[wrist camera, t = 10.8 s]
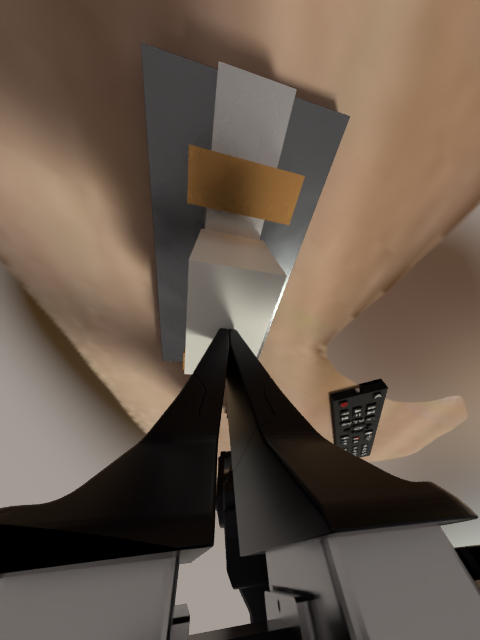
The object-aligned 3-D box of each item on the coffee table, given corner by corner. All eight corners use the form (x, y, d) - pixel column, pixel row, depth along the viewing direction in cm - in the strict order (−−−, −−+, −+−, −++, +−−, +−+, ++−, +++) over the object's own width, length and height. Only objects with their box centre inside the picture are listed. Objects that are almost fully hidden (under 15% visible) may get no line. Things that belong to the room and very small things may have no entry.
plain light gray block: (241, 324, 16) (248, 377, 12) (194, 318, 15) (184, 373, 11) (263, 241, 12) (286, 276, 8) (201, 228, 11) (188, 259, 7)
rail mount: (253, 360, 22) (259, 393, 19) (165, 353, 20) (153, 389, 17) (340, 121, 10) (398, 92, 7) (148, 55, 9) (99, -28, 5)
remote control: (381, 377, 27) (390, 389, 26) (366, 447, 46) (371, 457, 45) (328, 390, 29) (334, 402, 27) (335, 453, 47) (338, 463, 46)
